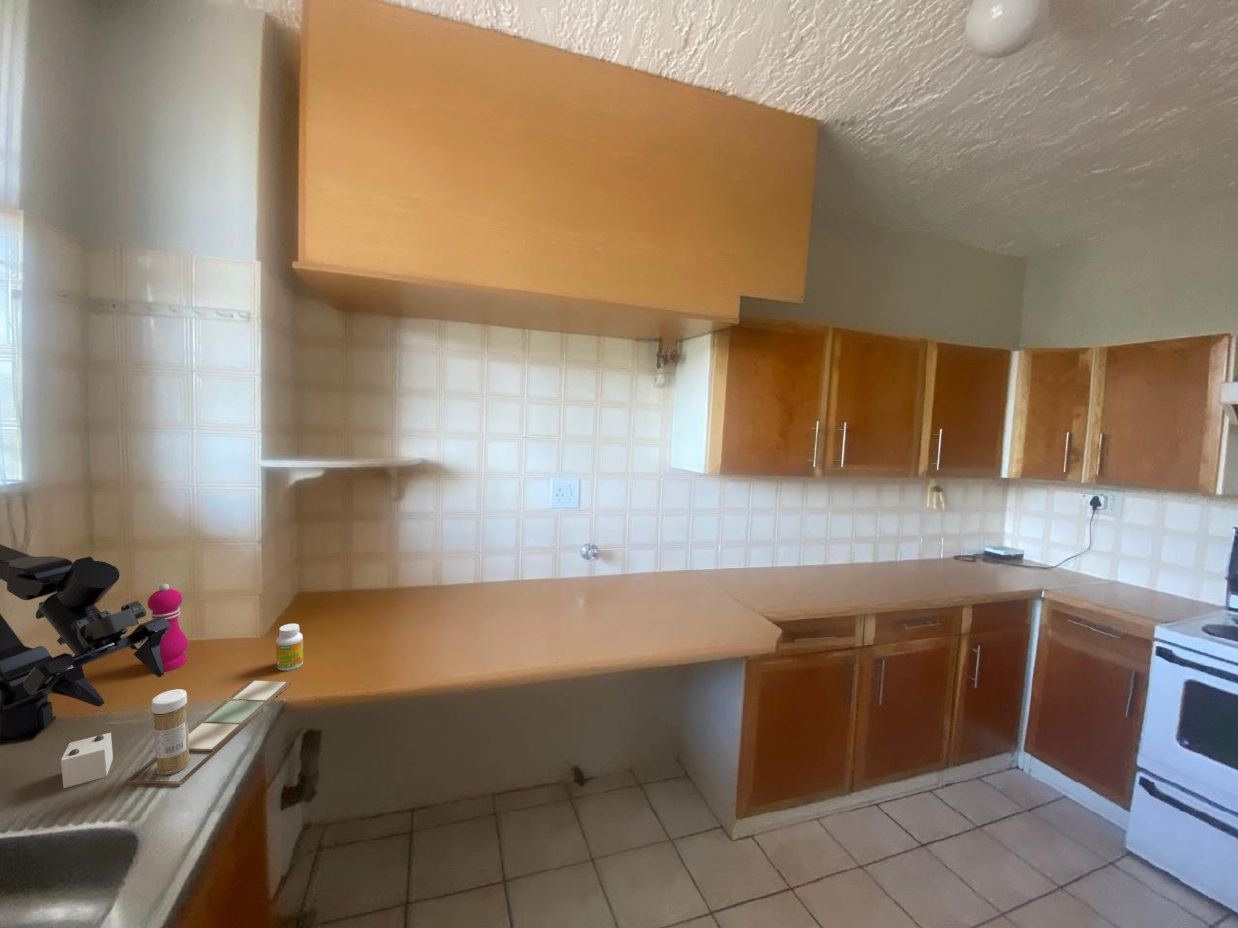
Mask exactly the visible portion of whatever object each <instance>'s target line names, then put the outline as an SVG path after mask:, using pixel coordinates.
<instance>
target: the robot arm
mask: <svg viewBox="0 0 1238 928" xmlns="http://www.w3.org/2000/svg"><path fill="white" fill-rule="evenodd" d="M120 577H121V575H120V570H119V569H118V568H117V566H115V565H112V564H111V563H108V562H105V561H101V560H94V559H93V558H92V556H86V557H81V558H77V559H75V560H74V561H72V560H70V559H68V558H65V557H60V556H59V557H58V556H52V555H51V556H49V555H48V556H47V555H46V556H34V555H29V554H27V553H25V552H22V551H19V550H16V549H14V548H11V547H9V546H6V545H4V544H0V580H2V581H4V582H6V591H7V592H9V593H11V594H12V595H14V596H15V597H16V598H18V599H20V600H23V601H31V600H35V599H38V598H42V597H45V596H48V597H47V598H46V599H45V600H44V601H41V602H39V603H38V608H37V610H36V612H35V618H36V619H37V620H40V619H43V618H46V620H47V621H48V622H49V624H50V625H51V626H52V627H53V628H54V630H55V632H56V633H57V634H58V635H59V636H60V637H59V638H57V640H56V642H57V644H59V646H63V645H65V644H66V646H68V648H69V649H70V650H71V651H72V653H73V654H71V653H67V652H64V653H61V654H59V655H56V656H54V657H52V655H51V654H50V652H49V650H48V649H47V648H46V647H45V646H43V645H39V646H36V647H34V648H33V647H30V646H26V645H25V644H24V643H23V642H22V641H21V639H20V638H19V636H18V635H17V633H16V632H15V630H14V629H13V628H11V625H9V623H8V622H7V621H6V619H5V618H4V617H3V615H2V614H1V613H0V744H6V743H8V744H9V743H15V742H22V741H29V740H33V739H36V737H38V736H39V735H40V734H41V733H43V731H44V730H46V728H48V727H49V726H50V725H51V724H52V723H54V721H56V720H57V716H56V715H54V714H53V703H52V701H49V695H50V694H55V695H60V696H64V697H67V698H68V697H69V698H73V699H75V700H78V701H81V702H83V703H87V704H90V705H93V706H94V707H99V708H100V707H102V706H103V705H105V700H104V698H103V696H102V695H101V694H100V693H99V692H98V690H96V687H94V686H93V685H92V683H91V682H90V681H89V680H88V678H87V677H86V676H85V674H84V669H83V666H85V665H87V664H90V663H93V662H95V661H97V660H99V659H102V658H106V656H107V657H108V656H109V655H112V654H114V653H117V652H119V651H121V650H124V649H127V648H129V649H130V650H136V651H135V652H134V653H133V655H134V657H136V658H137V660H138V661H140V663H142V665H144V666H145V667H146V668H147V670H149V671H150V672H151V673H153V674H154V675H155V676H156V677H158V678H161V677H163V676H164V674H165V671H164V670H163V665H162V659H161V654H160V641H161V639H162V638H163V637H164V636H165V634H166V632H167V631H168V629H169V628H170V627H171V624H170V623H169V622H168V621H167V620H166V619H165V618H160V617H158V618H156V619H153V620H152V619H151V620H149V621H148V620H147V621H146V622H143V623H140V622H139V619H142V618H145V617H146V615H147V611H146V609H145V607H144V605H143V604H142V603H140V602H139V601H138V600H136V601H131V602H129V603H127V604H124V605H122V606H121V607H120V611H118V612H115V613H113V614H112V613H111V612H110V611H108V610H106V609H105V610H103V611H101V610H100V608H98V606H97V605H96V604H98V603H99V602H100V601H101V600H102V599H103V598H104V597H105V596H106V595H107V594H108V592H109V591H110V590H111V589H112V588H113V587H114V586H115V584H116V583H117V582H118V581H119V579H120ZM137 625H138V626H137ZM134 626H137V627H136V628H135V629H134V630H133V631H132V633H130V634H128V635H126V636H124V637H122V636H123V635H125V634H127V632H128V631H129V629H128V628H129V627H134ZM73 655H74V656H73Z"/></svg>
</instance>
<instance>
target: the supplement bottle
mask: <svg viewBox="0 0 1238 928" xmlns="http://www.w3.org/2000/svg"><path fill="white" fill-rule="evenodd" d="M278 630H279V631H278V632H279V636H278V637H277V638H276V641H275V651H276V668H277V669H278V670H279V671H283V672H286V671H291V670H294V669H298V668H299V667H301V666H302V665H303V663H304V638H303V637H304V636H303V634H302V632H300V625H299V624H298V623H288V624H287V623H286V624H284V625H282V626H280V627H279V629H278Z"/></svg>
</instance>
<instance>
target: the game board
mask: <svg viewBox="0 0 1238 928" xmlns="http://www.w3.org/2000/svg"><path fill="white" fill-rule="evenodd" d="M291 683H292V681H282V680H281V681H280V680H279V681H278V680H249V681H248V682H247V683H246V684H244V685H243V686H242V687H240V688H239V689H238V690H237V691H236V692H235V693H233V694H232V695H230V696H229V698H231V697H232V698H233V699H234V700H236V699H239V700H242V699H243V700H246V701H229V702H228V701H226V700H224V701H223V702H222V703H221V704H219V705H218V706H217V707H216V708H214V709H213V710H212V711H211V712H209V713H208V714H207V715H206V716H204V717H203V718H202V719H200V721H198V722H197V723H195V725H193V726H192V727H190V728H189V729H188V732H189V753H200V754H201V753H204V754H205V753H207V754H208V755H207V756H206V757H204V758H203V759H202V760H201V761H200V762H199V763H198V764H197V765H195V767H194V768H192V769H191V770H190V771H189V772H188V773H186V775H184V776H183V777H182V778H181V779H180V780H179V781H176V780H175V781H173V780H170V781H169V780H141V779H140V780H138V779H136V778H138V777H139V776H140V775H141V774H143V772H145V771H146V770H148V769H149V768H150V767H151V766H153V764H155V763H157V759H156V756H155V757H154V758H152V759H151V760H149V761H148V762H147V763H146V764H145V765H143V766H142V767H141V768H140V769H138V770H137V771H136V772H134V773H133V774H132V775H131V776H129V777H128V778H127V779H126V780H125V781H123V786H144V787H145V786H146V787H147V786H148V787H150V786H151V787H154V786H155V787H181V786H182V785H183V784H184V783H185V782H186V781H188V780H189V779H190V777H192V776H193V775H194V774H195V773H197V772H198V771H199V770H200V769H201V768H202V767H203V766H204V765H205V764H206V763H208V762H209V760H210V759H212V758H213V757H214V756H215V755H216V754H217V753H218V752H219V751H220V750H221V749H223V748H224V747H225V746H226V745H227V744H228V743H229V742H230V741H231V740H232V739H234V737H235V736H237V734H239V733H240V732H241V731H242V730H243V729H245V727H246V726H248V724H249V723H251V722H252V721H253V720H254V719H255V718H256V717H257V716H258V715H259V714H260V713H261V712H260V711H261V710H262V709H263V708H265V707H266V706H267V705H268V703H269V702H270V701H271V700H272V699H273V698H275V697H276V696H277V695H279V694H280V693H281V692H282V691H283V690H284V689H285V688H286V687H287V686H288V685H290V684H291ZM292 684H293V683H292ZM292 684H291V685H292ZM291 685H290V686H291ZM284 691H285V690H284ZM284 691H283V692H284ZM283 692H282V693H283ZM282 693H281V694H282ZM281 694H280V695H281ZM280 695H279V696H280ZM226 702H227V703H226ZM268 706H269V705H268ZM268 706H267V707H268ZM267 707H266V708H267ZM266 708H265V709H266ZM258 713H259V714H258ZM257 714H258V715H257ZM256 715H257V716H256Z"/></svg>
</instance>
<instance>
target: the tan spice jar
mask: <svg viewBox="0 0 1238 928" xmlns="http://www.w3.org/2000/svg"><path fill="white" fill-rule="evenodd" d="M187 693H188V692H187V691H186V690H184V689H180V688H179V689H178V688H177V689H172V690H171V689H170V690H166V691H163V692H161V693H160V694H157V695H156V696H155V697H153V698H152V700H151V702H150V703H151V705H150V706H151V708H150V709H151V712H152V715H153V731H154V732H153V733H154V746H155V748H154V749H155V751H154V752H155V757H156V759H157V761H156V771H155V772H156V774H157V775H160V776H170V775H174V774H176V773H179V772H180V771H182V770H184V769H185V768H186V767H187V766H189V764H190V763H191V757H190V752H189V732H188V730H189V725H188V714H187V703H188V695H187Z"/></svg>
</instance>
